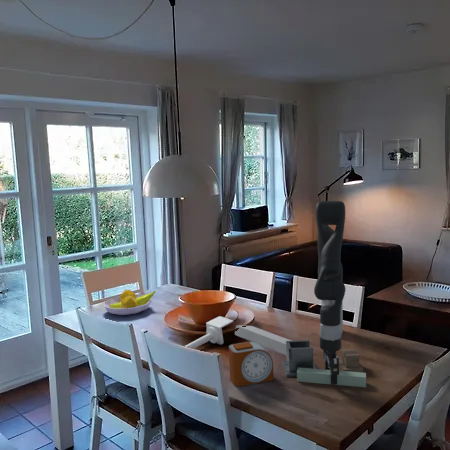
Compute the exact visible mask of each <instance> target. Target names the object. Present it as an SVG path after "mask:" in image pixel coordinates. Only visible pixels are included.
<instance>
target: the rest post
mask: <svg viewBox="0 0 450 450" xmlns="http://www.w3.org/2000/svg"><path fill="white" fill-rule="evenodd" d="M339 367H340V368H341V369H342V371H349V372H361V373H364V368H363V366H362V365H361V363H360V354H359V353H358V352H357V349H355V348H347V349H345V348H343V349H342V348H341V359H339Z"/></svg>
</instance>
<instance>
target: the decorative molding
mask: <svg viewBox="0 0 450 450" xmlns="http://www.w3.org/2000/svg"><path fill="white" fill-rule="evenodd" d="M242 326H243V325H235V329H236V328H239V329H238V330H237V331H235V330H234V335H235V336H237V337H239V338H241V339H243V340H246V341H248V342H256V343H258V344H260V345H261V346H262V347H263V348H265V349H268V350H271V351H274V352H276V353H278V354H281V355H284V356H286V341H293V340H291V339H288V338H285V337H283V336H281V335H278V334H275V333H272V332H269V331H266V330H265V329H261V328H258V327H256V326H253V325H245V326H246V327H242Z"/></svg>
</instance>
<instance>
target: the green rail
mask: <svg viewBox="0 0 450 450" xmlns="http://www.w3.org/2000/svg"><path fill="white" fill-rule="evenodd" d="M333 371H336V370H335V369H333ZM296 382H300V383H301V382H302V383H312V384H323V385H332V384H331V378H330V370H325V368H324V369H322V368H317V369H311V368H299V367H298V370H297V376H296ZM333 385H337V386H346V387H355V388H356V387H358V388H367V373H366V372H349V371H343V370H339V375H337V384H333ZM333 385H332V386H333Z"/></svg>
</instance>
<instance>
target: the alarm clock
mask: <svg viewBox="0 0 450 450" xmlns="http://www.w3.org/2000/svg"><path fill="white" fill-rule="evenodd" d="M228 361H229V363H228V364H229V380H230V381H231V382H232V384H233V386H236V387H245V386H250V385H254V384H255V385H256V384H260V383H265V382H271V381H274V378H275V377H274V361H273V357H272V355H271V354H270V353H269V352H268V351H267V350H266V348H265V347H263V346H261V345H260V344H258V343H256V342H251V341H247V342H246V341H245V342H238V343H232V344H230V345H228Z"/></svg>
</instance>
